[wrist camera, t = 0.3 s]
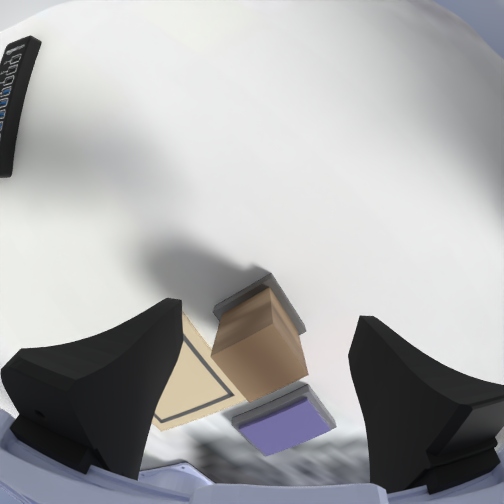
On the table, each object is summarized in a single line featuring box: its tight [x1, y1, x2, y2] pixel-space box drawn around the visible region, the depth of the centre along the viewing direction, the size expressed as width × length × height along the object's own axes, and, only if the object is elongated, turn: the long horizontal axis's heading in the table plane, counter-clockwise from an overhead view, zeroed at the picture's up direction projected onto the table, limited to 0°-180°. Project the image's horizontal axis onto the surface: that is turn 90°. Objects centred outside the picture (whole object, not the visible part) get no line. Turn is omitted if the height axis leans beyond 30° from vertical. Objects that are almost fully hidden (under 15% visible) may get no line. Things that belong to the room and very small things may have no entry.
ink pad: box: [232, 385, 337, 456], centre depth 24 cm, size 8×6×2 cm
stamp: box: [210, 273, 308, 402], centre depth 19 cm, size 5×5×7 cm
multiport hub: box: [0, 36, 42, 178], centre depth 18 cm, size 4×14×2 cm, turn 171°
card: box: [152, 312, 247, 431], centre depth 24 cm, size 11×11×1 cm
